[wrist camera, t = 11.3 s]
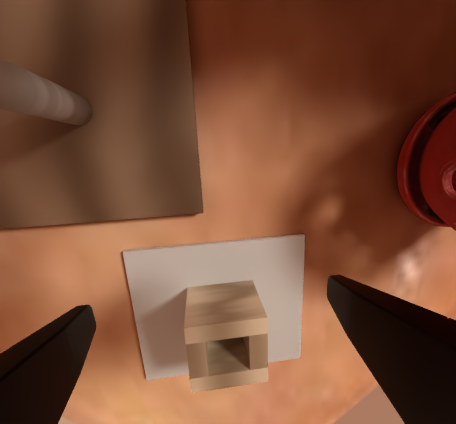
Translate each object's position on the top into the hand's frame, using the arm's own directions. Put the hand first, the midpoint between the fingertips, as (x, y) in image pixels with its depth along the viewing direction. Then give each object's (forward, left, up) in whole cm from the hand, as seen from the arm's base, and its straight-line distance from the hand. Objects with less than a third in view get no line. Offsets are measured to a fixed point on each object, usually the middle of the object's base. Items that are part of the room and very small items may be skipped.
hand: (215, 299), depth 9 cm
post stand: (+8, -9, -11) cm, 17 cm away
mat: (-1, +9, -11) cm, 15 cm away
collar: (-1, +9, -11) cm, 14 cm away
